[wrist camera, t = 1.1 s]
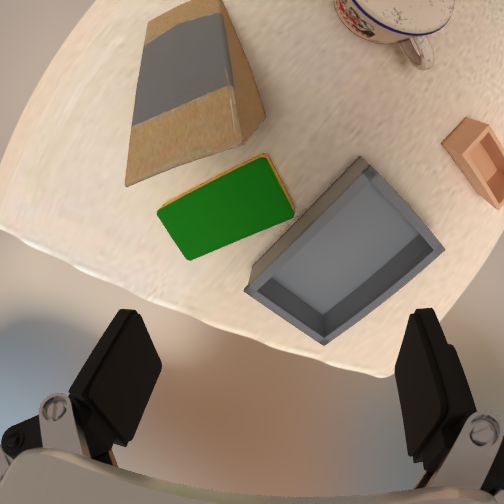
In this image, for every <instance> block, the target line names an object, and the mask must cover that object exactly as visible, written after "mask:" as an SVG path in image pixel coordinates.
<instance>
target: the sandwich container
mask: <svg viewBox="0 0 504 504" xmlns="http://www.w3.org/2000/svg"><path fill="white" fill-rule="evenodd" d="M265 117H266V115H265V112H264V109H263V106H262V103H261V100H260V97H259V93H258V90H257V87H256V84H255V81H254V78H253V75H252V72H251V69H250V66H249V63H248V61H247V58H246V56H245V54H244V51H243V49H242V46H241V44H240V41H239V39H238V37H237V34H236V32H235V30H234V27H233V25H232V23H231V20H230V18H229V16H228V14H227V11H226V9H225V7H224V5H223V2H222V0H191V1H189V2H186V3H184V4H182V5H179V6H177V7H175V8H173V9H171V10H170V11H168V12H166V13H164V14H162V15H160V16H158V17H156V18H155V19H153V20H151V21H149V22H148V25H147V30H146V36H145V42H144V48H143V54H142V60H141V66H140V72H139V77H138V83H137V89H136V97H135V105H134V112H133V120H132V128H131V135H130V143H129V152H128V161H127V169H126V178H125V186H126V187H129V186H131V185H133V184H136V183H138V182H140V181H143V180H145V179H147V178H150V177H152V176H155V175H157V174H160V173H162V172H165V171H167V170H170V169H172V168H175V167H178V166H180V165H183V164H186V163H189V162H192V161H195V160H198V159H200V158H203V157H206V156H209V155H212V154H215V153H218V152H221V151H225V150H228V149H231V148H234V147H237V146H240V145H243V144H244V143H245V142H246V141H247V140H248V138H249V137H250V136H251V135H252V134H253V132H254V131H255V130H256V129H257V128H258V127H259V125H260V124H261V123H262V122H263V121H264V119H265Z"/></svg>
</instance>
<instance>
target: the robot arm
mask: <svg viewBox="0 0 504 504" xmlns="http://www.w3.org/2000/svg"><path fill="white" fill-rule="evenodd" d="M161 369H162V363H161V360H160V358H159V356H158V354H157V351H156V349H155V347H154V345H153V342H152V340H151V338H150V335H149V333H148V331H147V328H146V326H145V324H144V322H143V319H142V317H141V315H140V314H138V313H137V311H136V310H130V309H120V310H119V311H118V312H117V314H116V316H115V317H114V318H113V320H112V322H111V323H110V325H109V326H108V328H107V329H106V331H105V332H104V334H103V336H102V337H101V338H100V340H99V342H98V343H97V345H96V346H95V348H94V350H93V351H92V353H91V355H90V356H89V358H88V359H87V361H86V362H85V364H84V366H83V368H82V369H81V371H80V372H79V374H78V376H77V378H76V379H75V381H74V383H73V384H72V386H71V387H70V389H69V393H70V394H69V396H67V395H65V394H63V393H55V394H51V395H50V396H48V397H47V398H46V399H44V400H43V402H42V404H41V405H40V408H39V415H37V416H35V417H32V418H30V419H28V420H25V421H23V422H21V423H19V424H16V425H14V426H11V427H10V428H8V429H7V430H6V431H5V433H4V434H3V436H2V441H1V445H0V504H504V435H503V434H504V428H503V424H502V422H501V420H500V419H499V417H498V416H497V415H495V414H494V413H492V412H489V411H478V412H477V410H476V407H475V403H474V400H473V397H472V394H471V391H470V388H469V385H468V382H467V379H466V376H465V374H464V371H463V368H462V366H461V363H460V360H459V357H458V355H457V352H456V350H455V348H454V346H453V345H451V344H448V343H447V341H446V338H445V336H444V333H443V331H442V328H441V326H440V323H439V321H438V319H437V316H436V314H435V312H434V310H433V309H432V308H424V309H416V310H415V312H414V314H410V316H409V320H408V324H407V327H406V331H405V335H404V338H403V342H402V345H401V348H400V352H399V355H398V358H397V361H396V365H395V377H396V382H397V387H398V393H399V399H400V404H401V409H402V416H403V422H404V429H405V436H406V443H407V450H408V455H409V456H410V457H411V456H413V461H414V463H418V462H423V466H424V470H426V471H425V472H424V474H423V475H422V477H421V478H420V479H419V481H418V482H417V484H416V485H415V487H414V488H413V489H412V490H403V491H396V492H388V493H380V494H368V495H355V496H340V497H279V496H262V495H251V494H241V493H232V492H225V491H218V490H210V489H205V488H199V487H194V486H188V485H184V484H179V483H174V482H169V481H165V480H161V479H157V478H153V477H149V476H145V475H142V474H138V473H135V472H131V471H128V470H124V469H121V468H119V467H118V465H117V462H116V459H115V457H114V454H113V451H112V446H113V443H114V444H117V445H120V446H124V447H126V446H127V444H128V442H129V441H131V440H132V439H133V437H134V435H135V432H136V430H137V427H138V425H139V422H140V420H141V417H142V415H143V413H144V410H145V408H146V405H147V403H148V401H149V398H150V396H151V393H152V391H153V389H154V386H155V384H156V381H157V379H158V377H159V374H160V372H161Z"/></svg>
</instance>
